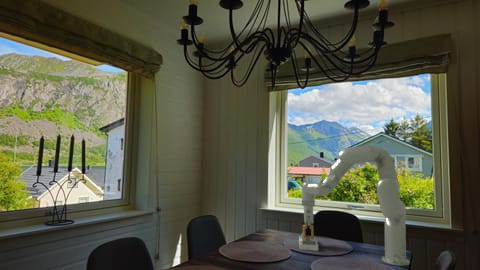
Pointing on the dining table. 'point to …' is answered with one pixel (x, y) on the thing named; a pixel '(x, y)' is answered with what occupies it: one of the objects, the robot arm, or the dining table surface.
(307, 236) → the breaker lever
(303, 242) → the breaker panel
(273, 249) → the dining table surface
